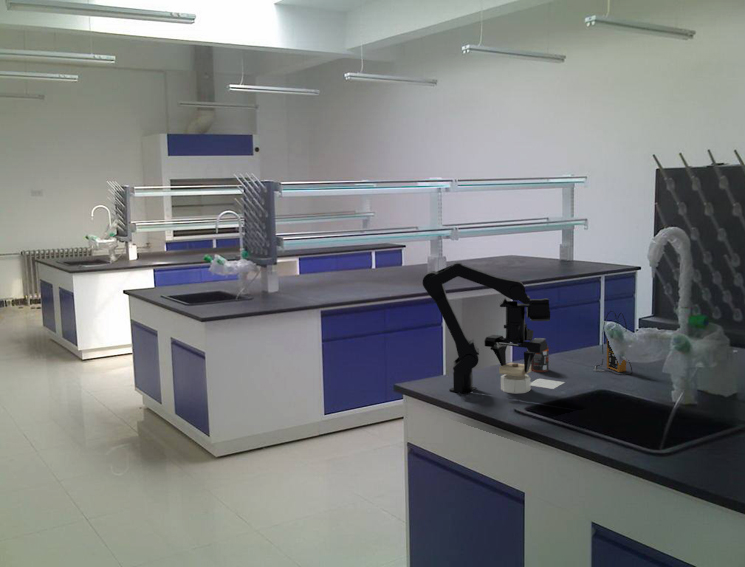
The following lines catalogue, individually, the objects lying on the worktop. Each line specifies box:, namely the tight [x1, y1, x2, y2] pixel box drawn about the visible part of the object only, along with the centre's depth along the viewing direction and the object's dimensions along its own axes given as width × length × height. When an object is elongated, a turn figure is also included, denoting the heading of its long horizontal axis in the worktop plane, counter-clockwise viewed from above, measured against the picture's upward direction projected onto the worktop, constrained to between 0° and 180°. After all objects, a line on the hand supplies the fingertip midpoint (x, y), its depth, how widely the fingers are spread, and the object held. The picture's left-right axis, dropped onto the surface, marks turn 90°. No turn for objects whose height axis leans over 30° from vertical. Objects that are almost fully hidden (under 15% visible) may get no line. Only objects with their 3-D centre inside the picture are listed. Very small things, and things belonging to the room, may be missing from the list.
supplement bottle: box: [531, 337, 550, 373], centre depth 247 cm, size 6×6×11 cm
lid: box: [498, 362, 532, 377], centre depth 224 cm, size 7×7×3 cm
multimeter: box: [594, 310, 633, 376], centre depth 244 cm, size 15×10×20 cm
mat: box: [530, 378, 566, 390], centre depth 230 cm, size 9×9×1 cm
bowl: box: [500, 374, 531, 394], centre depth 225 cm, size 8×8×4 cm
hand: (515, 370), depth 224 cm, fingers closed on lid, 7 cm apart
